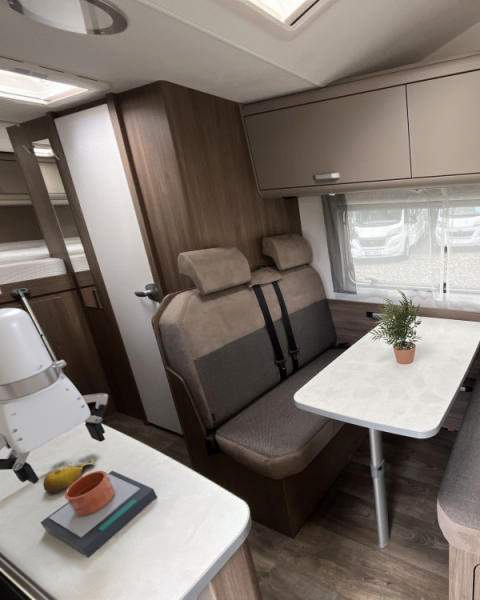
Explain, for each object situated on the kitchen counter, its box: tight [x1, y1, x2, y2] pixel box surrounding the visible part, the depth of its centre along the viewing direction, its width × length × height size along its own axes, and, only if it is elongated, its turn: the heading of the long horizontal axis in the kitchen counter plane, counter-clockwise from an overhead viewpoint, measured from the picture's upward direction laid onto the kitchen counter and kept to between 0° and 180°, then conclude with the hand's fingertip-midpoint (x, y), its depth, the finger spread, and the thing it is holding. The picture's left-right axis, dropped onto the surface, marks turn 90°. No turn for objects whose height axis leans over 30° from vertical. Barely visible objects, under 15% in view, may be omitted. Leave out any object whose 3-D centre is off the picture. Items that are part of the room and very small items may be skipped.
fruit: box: [42, 459, 96, 495], centre depth 71 cm, size 8×8×4 cm
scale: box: [40, 470, 158, 558], centre depth 63 cm, size 14×12×3 cm
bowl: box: [63, 470, 115, 516], centre depth 62 cm, size 6×6×5 cm
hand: (68, 458), depth 58 cm, fingers open, 9 cm apart
